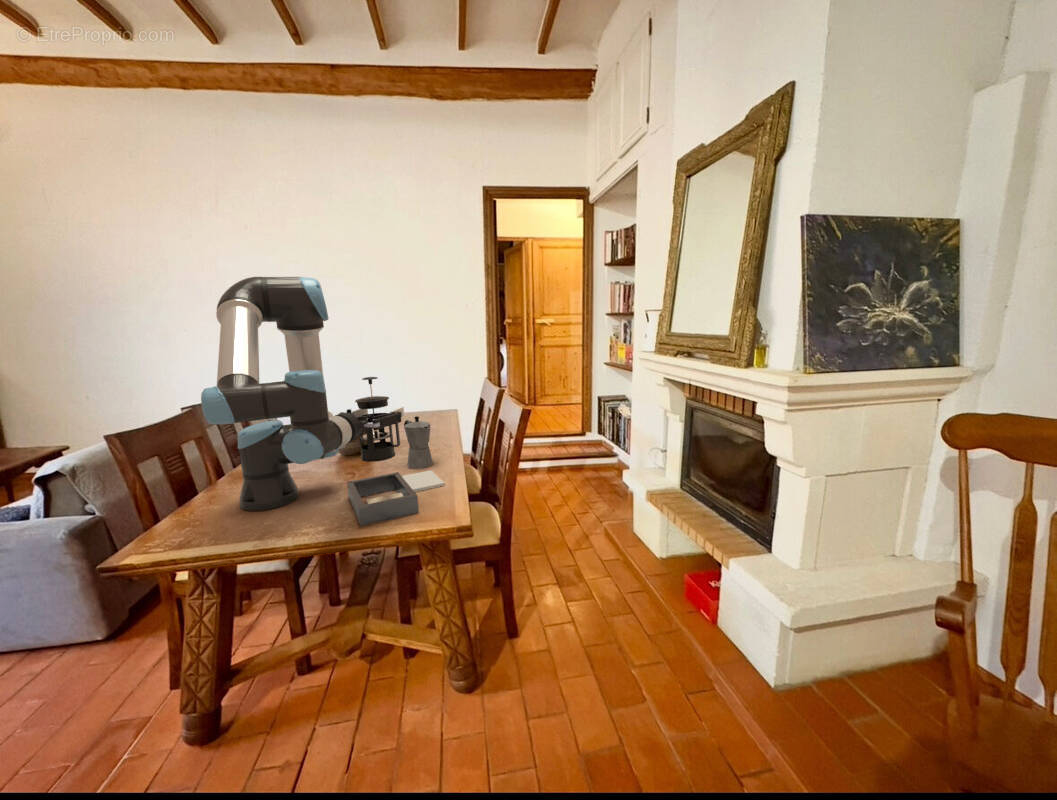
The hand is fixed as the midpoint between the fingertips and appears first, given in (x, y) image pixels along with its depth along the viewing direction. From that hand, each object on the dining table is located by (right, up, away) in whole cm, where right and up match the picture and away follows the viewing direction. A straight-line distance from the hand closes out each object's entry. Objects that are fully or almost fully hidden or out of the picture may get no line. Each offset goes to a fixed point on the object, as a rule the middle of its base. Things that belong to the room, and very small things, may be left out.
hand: (384, 411), depth 127 cm
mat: (+7, -23, +15) cm, 29 cm away
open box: (0, -27, -2) cm, 27 cm away
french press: (-1, -13, -2) cm, 13 cm away
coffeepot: (+2, -20, +33) cm, 39 cm away
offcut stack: (+4, -28, -8) cm, 29 cm away
